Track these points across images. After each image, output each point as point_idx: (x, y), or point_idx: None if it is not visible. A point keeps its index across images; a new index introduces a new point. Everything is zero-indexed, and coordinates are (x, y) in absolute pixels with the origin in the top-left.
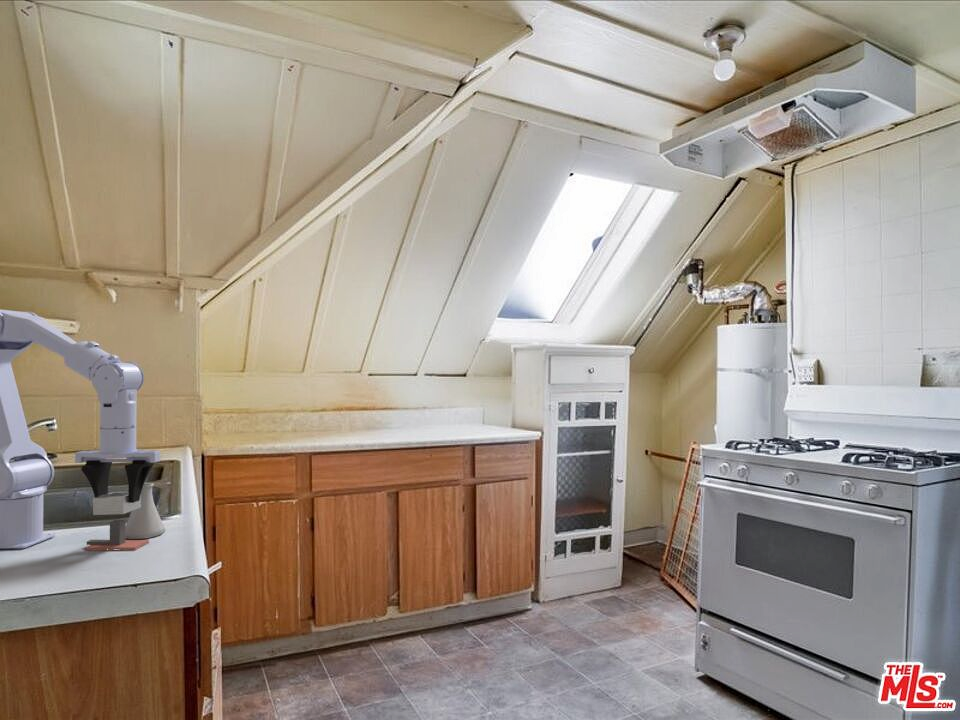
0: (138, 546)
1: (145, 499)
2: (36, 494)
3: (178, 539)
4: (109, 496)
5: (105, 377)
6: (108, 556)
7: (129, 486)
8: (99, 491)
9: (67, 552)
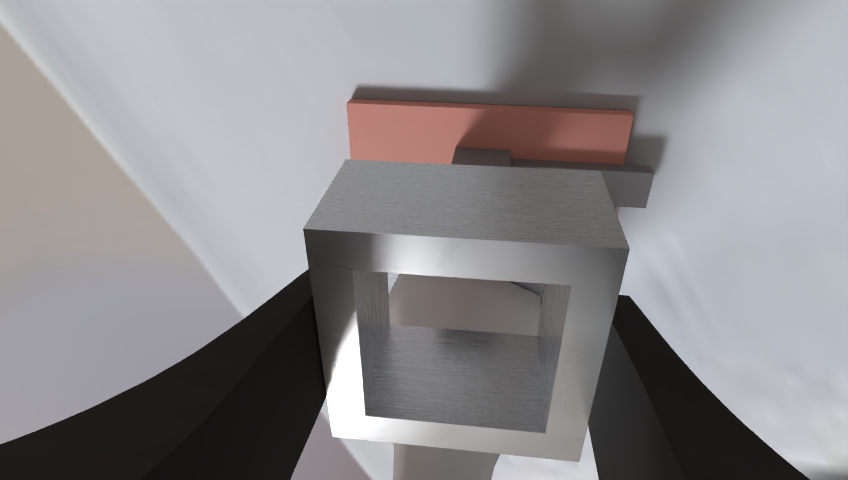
0: (351, 132)
1: (406, 459)
2: None
3: (259, 255)
4: (551, 375)
5: None
6: None
7: (254, 346)
8: (619, 369)
9: (721, 81)
